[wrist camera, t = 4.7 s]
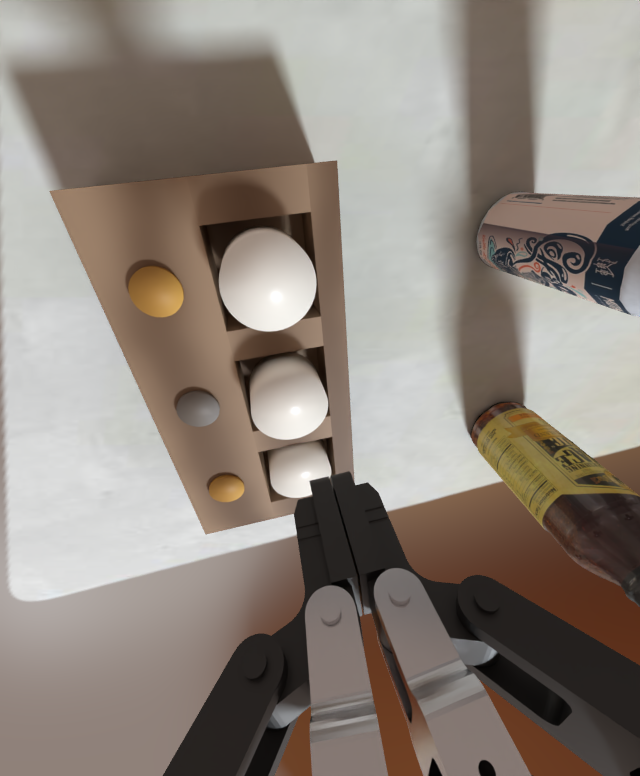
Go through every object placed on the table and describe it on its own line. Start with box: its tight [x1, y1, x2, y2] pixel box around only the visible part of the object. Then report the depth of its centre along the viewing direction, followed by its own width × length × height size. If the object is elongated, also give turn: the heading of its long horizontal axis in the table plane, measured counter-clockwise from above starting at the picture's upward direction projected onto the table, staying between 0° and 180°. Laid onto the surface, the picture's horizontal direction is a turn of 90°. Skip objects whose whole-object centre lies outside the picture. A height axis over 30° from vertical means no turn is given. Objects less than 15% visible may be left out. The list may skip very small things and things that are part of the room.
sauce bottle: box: [471, 402, 640, 607], centre depth 25 cm, size 6×6×20 cm
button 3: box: [267, 439, 331, 498], centre depth 25 cm, size 4×4×3 cm
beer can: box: [477, 192, 640, 317], centre depth 19 cm, size 5×5×12 cm
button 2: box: [250, 352, 328, 440], centre depth 20 cm, size 4×4×3 cm
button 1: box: [219, 225, 316, 331], centre depth 17 cm, size 4×4×3 cm
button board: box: [50, 161, 354, 534], centre depth 22 cm, size 12×23×5 cm, turn 5°
